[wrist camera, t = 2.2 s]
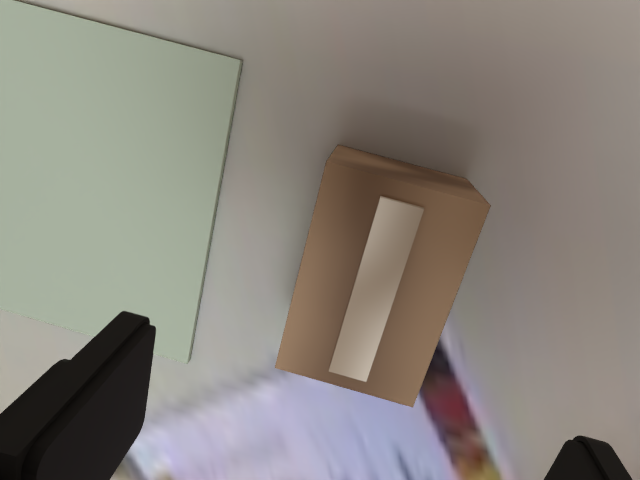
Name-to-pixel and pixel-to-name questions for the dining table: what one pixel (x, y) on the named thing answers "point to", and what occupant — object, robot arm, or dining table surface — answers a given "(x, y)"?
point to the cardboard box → (379, 273)
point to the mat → (108, 172)
